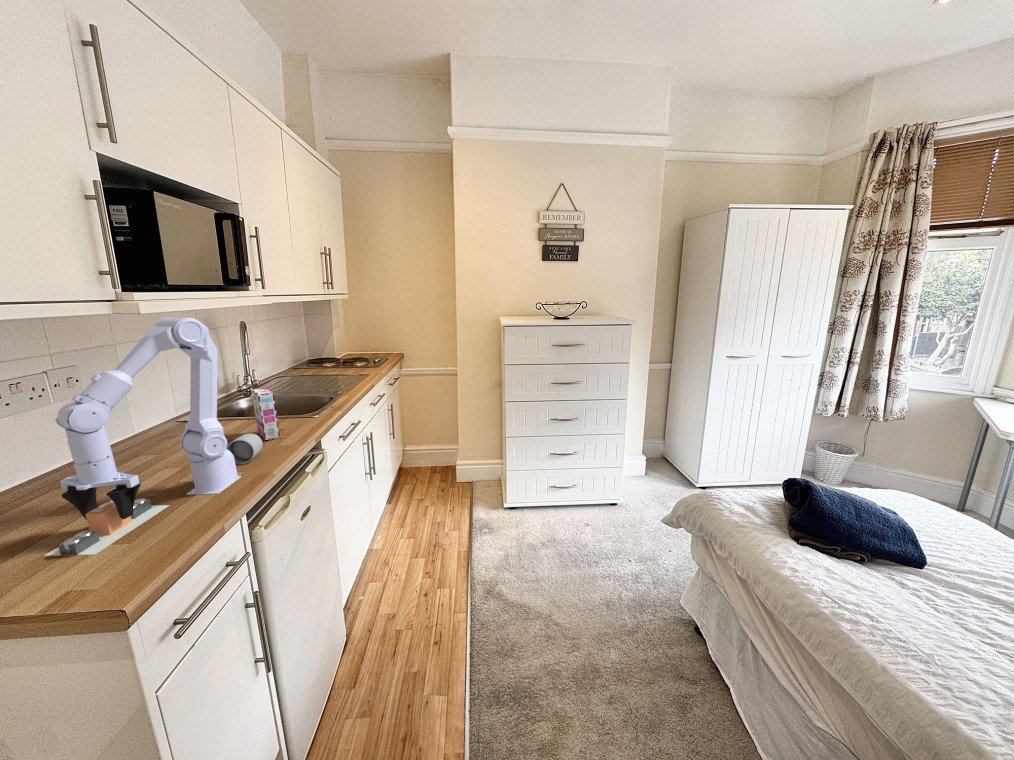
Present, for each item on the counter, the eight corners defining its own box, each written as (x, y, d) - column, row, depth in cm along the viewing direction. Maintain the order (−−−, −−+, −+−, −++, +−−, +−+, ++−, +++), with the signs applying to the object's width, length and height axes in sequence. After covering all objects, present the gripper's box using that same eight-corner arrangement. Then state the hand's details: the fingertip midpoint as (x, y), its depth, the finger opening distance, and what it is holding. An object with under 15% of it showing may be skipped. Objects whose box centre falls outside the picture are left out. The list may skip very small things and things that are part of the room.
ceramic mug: (266, 452, 127) (261, 429, 125) (256, 462, 119) (251, 438, 117) (229, 456, 125) (223, 433, 123) (216, 467, 117) (210, 443, 115)
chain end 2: (138, 508, 95) (136, 498, 94) (152, 507, 95) (149, 498, 94) (120, 519, 90) (117, 509, 90) (134, 518, 90) (131, 508, 90)
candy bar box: (281, 437, 139) (274, 392, 135) (265, 441, 136) (257, 395, 132) (273, 430, 147) (266, 386, 143) (257, 433, 144) (250, 389, 140)
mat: (128, 507, 96) (127, 506, 96) (170, 506, 96) (169, 505, 96) (44, 557, 78) (43, 555, 78) (95, 556, 78) (94, 554, 78)
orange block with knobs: (114, 521, 89) (107, 499, 88) (132, 521, 89) (126, 498, 88) (91, 535, 84) (84, 511, 83) (110, 535, 84) (103, 511, 83)
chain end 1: (84, 540, 83) (81, 530, 82) (100, 540, 83) (97, 529, 82) (60, 555, 78) (57, 544, 77) (77, 554, 78) (73, 543, 77)
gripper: (36, 467, 79) (56, 528, 82) (110, 466, 79) (126, 527, 82) (74, 453, 86) (90, 510, 89) (141, 451, 86) (155, 508, 89)
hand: (109, 517), depth 86 cm, fingers open, 7 cm apart
